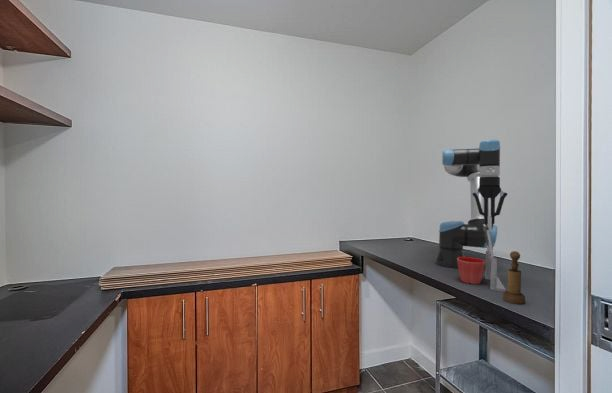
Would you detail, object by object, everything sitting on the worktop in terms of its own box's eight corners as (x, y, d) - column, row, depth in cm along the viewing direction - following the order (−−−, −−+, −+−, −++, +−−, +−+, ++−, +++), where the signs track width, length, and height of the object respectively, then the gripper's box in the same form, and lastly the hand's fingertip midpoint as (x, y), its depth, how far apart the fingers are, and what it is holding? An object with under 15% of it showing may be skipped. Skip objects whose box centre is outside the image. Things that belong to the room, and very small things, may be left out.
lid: (481, 224, 133) (486, 224, 133) (487, 255, 133) (492, 255, 132) (485, 227, 122) (490, 227, 121) (491, 262, 121) (497, 261, 120)
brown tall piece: (505, 302, 106) (506, 252, 105) (500, 296, 112) (501, 249, 111) (527, 305, 103) (529, 254, 103) (521, 298, 109) (522, 250, 109)
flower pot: (489, 286, 124) (489, 263, 123) (460, 284, 126) (461, 261, 126) (479, 278, 134) (480, 257, 134) (453, 277, 136) (454, 256, 136)
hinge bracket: (485, 277, 136) (485, 250, 136) (497, 279, 134) (498, 251, 133) (490, 290, 119) (491, 259, 118) (505, 292, 116) (506, 260, 116)
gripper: (473, 176, 126) (472, 231, 126) (509, 175, 120) (509, 233, 121) (471, 177, 132) (471, 229, 133) (505, 176, 127) (505, 231, 127)
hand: (489, 231), depth 127 cm, fingers closed
